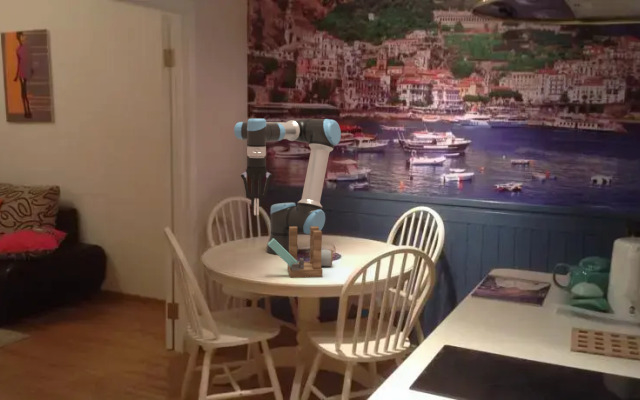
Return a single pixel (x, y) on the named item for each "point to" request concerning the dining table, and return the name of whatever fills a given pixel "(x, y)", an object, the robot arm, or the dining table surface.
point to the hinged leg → (282, 252)
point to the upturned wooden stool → (314, 265)
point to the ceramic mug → (326, 257)
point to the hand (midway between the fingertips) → (256, 214)
